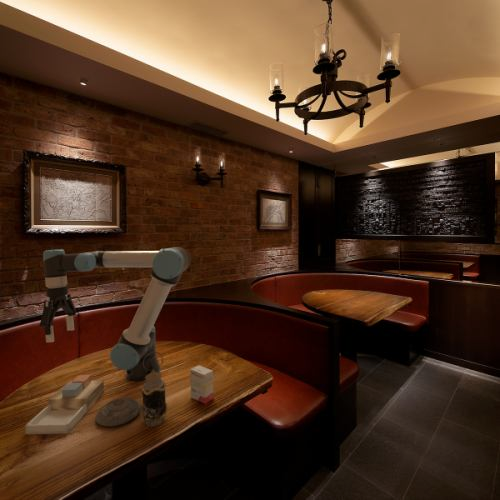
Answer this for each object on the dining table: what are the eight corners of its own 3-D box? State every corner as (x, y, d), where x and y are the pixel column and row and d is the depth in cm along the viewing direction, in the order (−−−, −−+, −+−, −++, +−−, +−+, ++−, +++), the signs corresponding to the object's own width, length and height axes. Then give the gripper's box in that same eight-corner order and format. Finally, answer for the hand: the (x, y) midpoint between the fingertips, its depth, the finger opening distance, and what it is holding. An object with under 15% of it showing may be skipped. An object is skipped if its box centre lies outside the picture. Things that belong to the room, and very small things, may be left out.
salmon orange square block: (91, 381, 118) (91, 374, 118) (84, 388, 113) (84, 381, 113) (79, 382, 118) (78, 375, 118) (72, 388, 113) (71, 381, 113)
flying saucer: (111, 436, 94) (111, 420, 94) (87, 420, 102) (86, 405, 101) (149, 411, 107) (149, 397, 106) (124, 399, 115) (124, 386, 114)
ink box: (214, 398, 114) (213, 370, 113) (205, 404, 110) (205, 375, 109) (199, 391, 119) (198, 364, 118) (190, 397, 115) (189, 369, 114)
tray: (86, 411, 106) (86, 403, 106) (67, 433, 95) (67, 424, 95) (49, 412, 106) (48, 404, 106) (25, 434, 95) (24, 425, 95)
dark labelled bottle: (143, 431, 96) (140, 359, 94) (140, 417, 103) (138, 350, 101) (169, 422, 100) (167, 353, 98) (165, 410, 107) (163, 345, 105)
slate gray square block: (83, 390, 112) (82, 382, 112) (75, 397, 107) (75, 389, 107) (70, 390, 112) (70, 382, 112) (62, 397, 107) (61, 389, 107)
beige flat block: (104, 391, 119) (103, 380, 119) (86, 411, 106) (86, 398, 106) (70, 392, 119) (69, 381, 119) (49, 412, 106) (48, 399, 106)
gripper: (66, 281, 132) (70, 326, 133) (25, 293, 107) (30, 348, 108) (82, 280, 132) (86, 325, 133) (45, 292, 107) (50, 347, 108)
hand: (61, 335), depth 121 cm, fingers open, 13 cm apart
